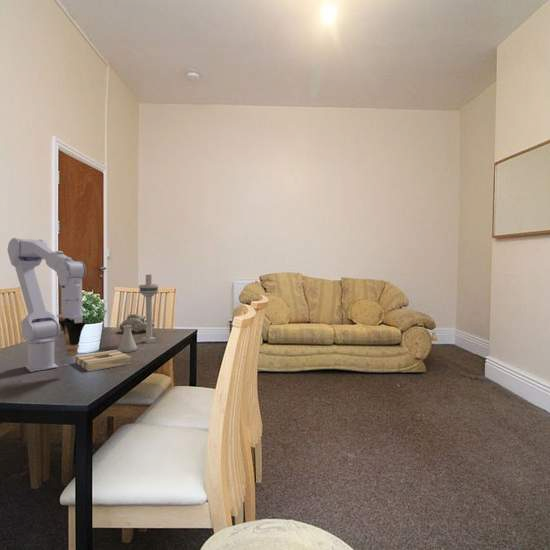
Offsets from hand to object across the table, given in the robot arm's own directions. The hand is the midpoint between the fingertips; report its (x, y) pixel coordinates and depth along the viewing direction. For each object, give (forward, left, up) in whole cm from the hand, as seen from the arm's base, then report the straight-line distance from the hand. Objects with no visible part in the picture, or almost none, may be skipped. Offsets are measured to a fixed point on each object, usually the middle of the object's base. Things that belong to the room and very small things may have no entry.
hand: (72, 343), depth 118 cm
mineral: (-61, +46, -10) cm, 77 cm away
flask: (-22, +26, -10) cm, 35 cm away
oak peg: (0, 0, -3) cm, 4 cm away
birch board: (-8, +12, -10) cm, 17 cm away
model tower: (-33, +40, -10) cm, 53 cm away
